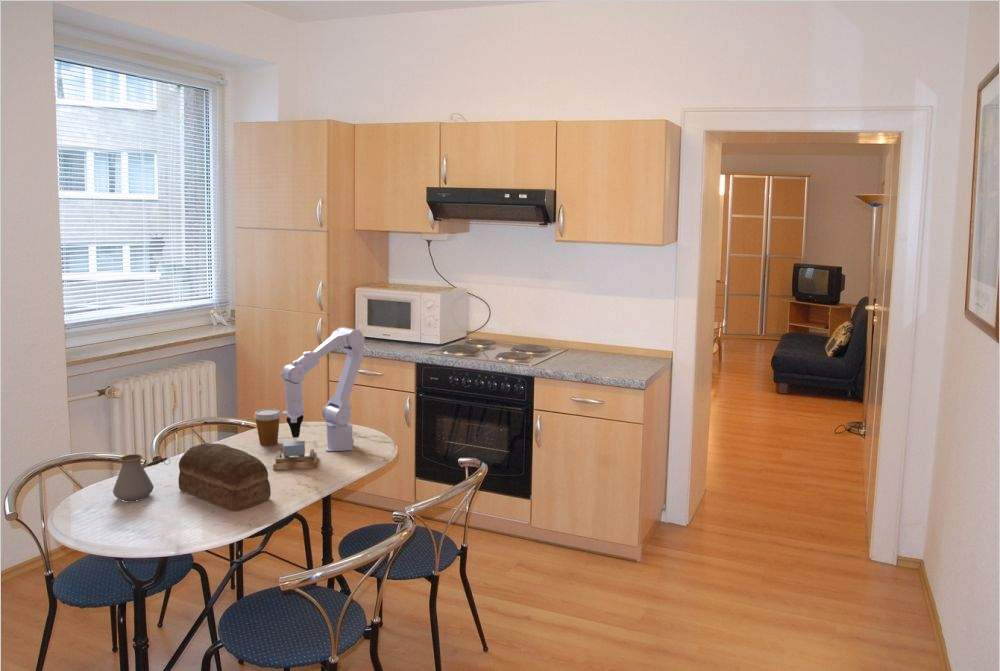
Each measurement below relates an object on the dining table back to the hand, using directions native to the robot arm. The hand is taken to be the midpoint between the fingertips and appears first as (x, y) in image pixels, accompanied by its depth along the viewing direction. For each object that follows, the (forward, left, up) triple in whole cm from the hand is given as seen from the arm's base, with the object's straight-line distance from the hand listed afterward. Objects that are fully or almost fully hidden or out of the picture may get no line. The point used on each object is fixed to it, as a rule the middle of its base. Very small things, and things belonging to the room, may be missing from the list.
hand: (295, 437), depth 298 cm
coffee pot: (+43, +33, -8) cm, 55 cm away
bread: (+20, +32, -8) cm, 39 cm away
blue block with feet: (0, +6, -6) cm, 8 cm away
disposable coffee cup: (+11, -19, -8) cm, 23 cm away
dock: (0, +6, -8) cm, 10 cm away
